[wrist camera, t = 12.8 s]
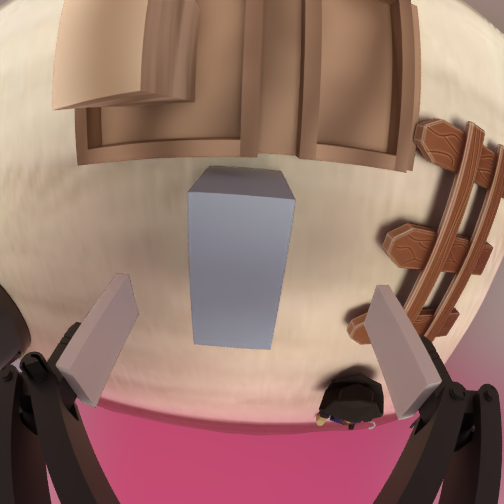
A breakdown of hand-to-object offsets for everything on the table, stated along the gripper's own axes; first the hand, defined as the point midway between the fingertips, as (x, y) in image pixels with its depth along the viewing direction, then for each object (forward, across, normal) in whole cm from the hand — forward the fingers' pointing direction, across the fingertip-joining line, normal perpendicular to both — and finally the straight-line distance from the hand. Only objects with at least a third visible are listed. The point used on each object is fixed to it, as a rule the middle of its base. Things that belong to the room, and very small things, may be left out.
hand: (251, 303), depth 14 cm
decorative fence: (+8, +17, 0) cm, 19 cm away
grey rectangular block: (+8, -1, 0) cm, 8 cm away
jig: (+8, -1, +14) cm, 16 cm away
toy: (+9, +14, -23) cm, 28 cm away
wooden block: (+7, -6, +13) cm, 16 cm away
